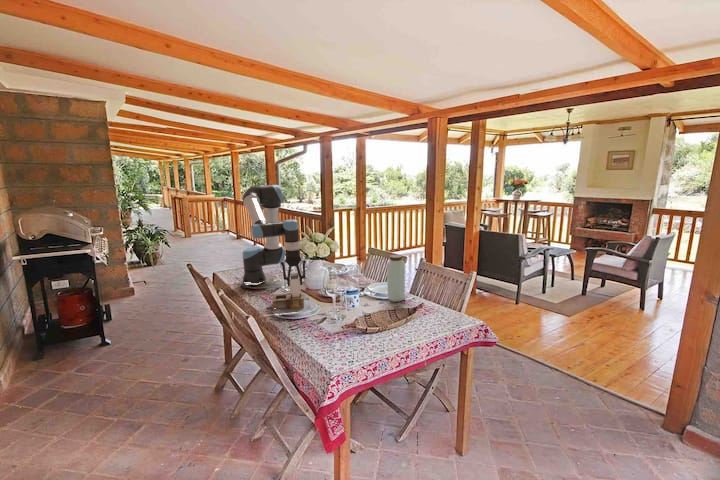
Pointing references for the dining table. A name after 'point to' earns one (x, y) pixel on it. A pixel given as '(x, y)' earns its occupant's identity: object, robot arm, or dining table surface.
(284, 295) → the socket block
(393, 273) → the water bottle
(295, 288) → the plug
